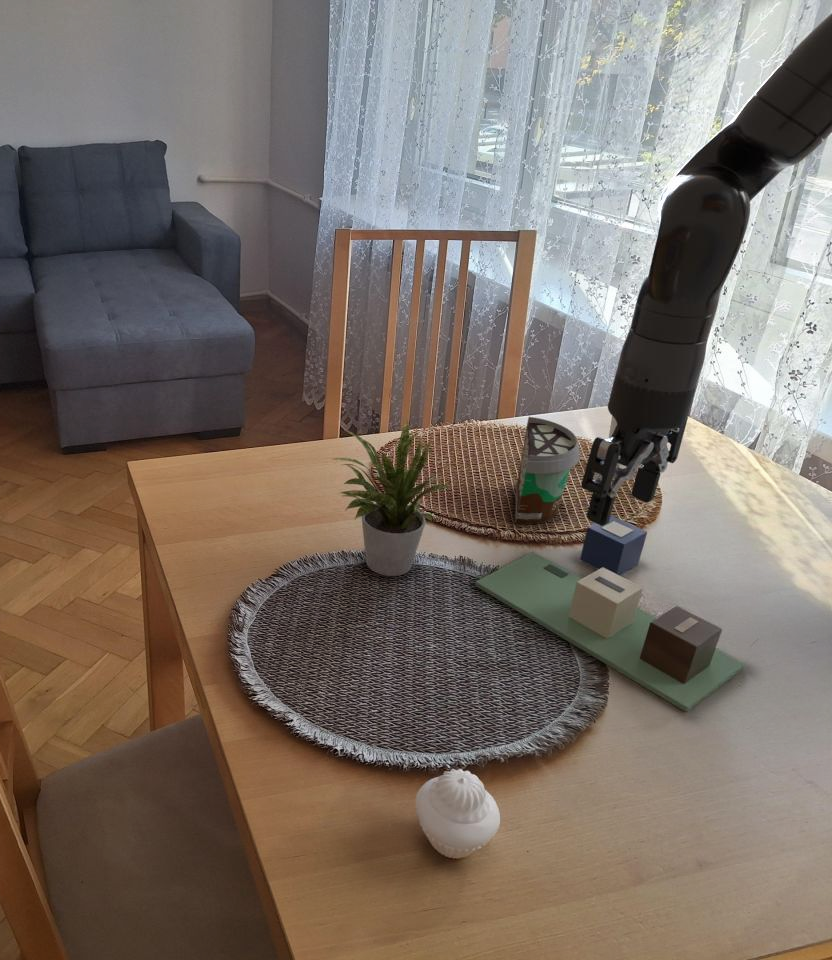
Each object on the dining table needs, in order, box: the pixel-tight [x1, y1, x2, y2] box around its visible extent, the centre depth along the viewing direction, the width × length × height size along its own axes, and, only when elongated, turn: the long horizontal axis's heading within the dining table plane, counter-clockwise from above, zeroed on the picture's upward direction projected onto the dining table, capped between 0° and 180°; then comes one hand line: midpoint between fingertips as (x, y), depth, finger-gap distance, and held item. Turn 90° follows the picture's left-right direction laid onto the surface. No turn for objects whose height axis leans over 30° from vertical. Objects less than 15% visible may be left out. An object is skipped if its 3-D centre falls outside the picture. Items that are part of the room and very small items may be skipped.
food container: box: [514, 416, 580, 525], centre depth 107 cm, size 12×6×10 cm, turn 161°
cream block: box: [569, 567, 644, 639], centre depth 88 cm, size 4×4×5 cm
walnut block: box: [640, 605, 723, 684], centre depth 82 cm, size 4×4×5 cm
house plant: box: [332, 419, 453, 577], centre depth 97 cm, size 14×14×16 cm
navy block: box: [579, 514, 648, 576], centre depth 98 cm, size 4×4×5 cm
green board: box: [474, 551, 745, 713], centre depth 89 cm, size 10×24×1 cm, turn 34°
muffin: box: [414, 768, 501, 860], centre depth 65 cm, size 6×6×7 cm
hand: (619, 510), depth 95 cm, fingers open, 8 cm apart
